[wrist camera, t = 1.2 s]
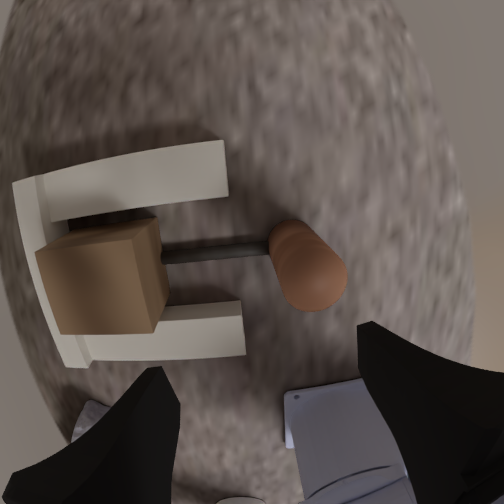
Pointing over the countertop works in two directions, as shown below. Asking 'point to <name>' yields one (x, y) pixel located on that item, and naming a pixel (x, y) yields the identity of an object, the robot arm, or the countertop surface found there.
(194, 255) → the string block
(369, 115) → the countertop surface
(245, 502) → the white cup
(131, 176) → the frame
